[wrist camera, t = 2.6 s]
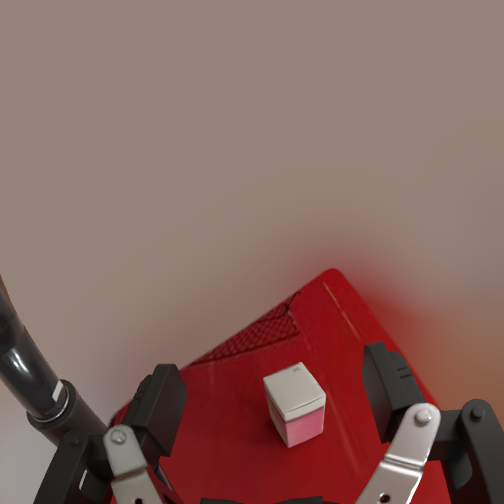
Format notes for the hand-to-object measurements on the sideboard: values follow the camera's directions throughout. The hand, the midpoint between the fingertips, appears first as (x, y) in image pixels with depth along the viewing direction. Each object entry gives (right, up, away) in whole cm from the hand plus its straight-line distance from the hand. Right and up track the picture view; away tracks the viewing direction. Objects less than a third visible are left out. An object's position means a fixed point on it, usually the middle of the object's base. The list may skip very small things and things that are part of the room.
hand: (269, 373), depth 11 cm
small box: (+4, -14, +16) cm, 22 cm away
